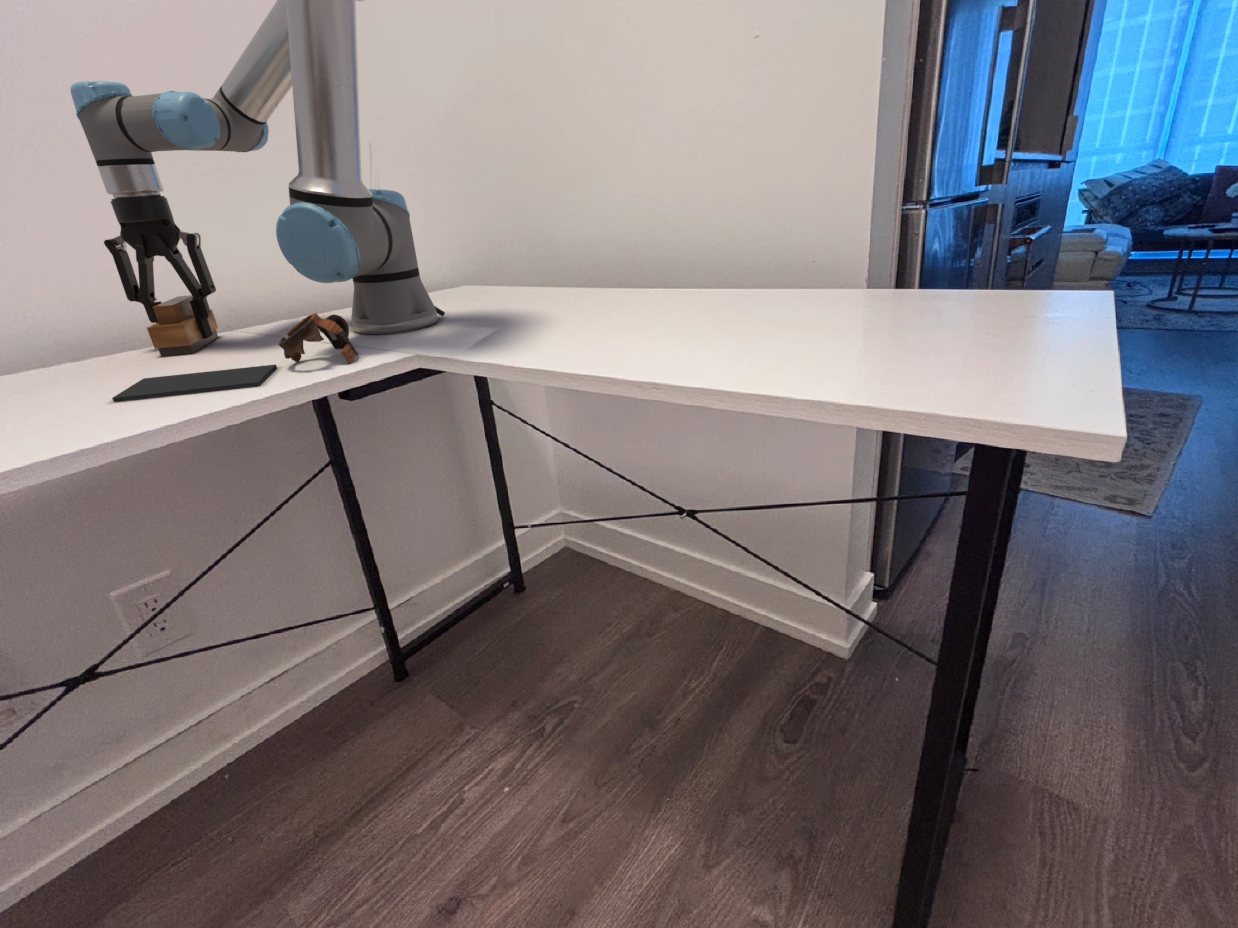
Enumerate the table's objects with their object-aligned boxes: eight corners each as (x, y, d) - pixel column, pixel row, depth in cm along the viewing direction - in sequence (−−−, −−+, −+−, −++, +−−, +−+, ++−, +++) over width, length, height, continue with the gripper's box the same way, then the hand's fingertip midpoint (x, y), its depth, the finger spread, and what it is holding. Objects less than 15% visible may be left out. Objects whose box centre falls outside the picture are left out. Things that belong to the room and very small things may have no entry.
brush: (188, 339, 115) (173, 295, 112) (221, 336, 116) (206, 292, 113) (157, 357, 104) (139, 309, 100) (193, 353, 105) (176, 305, 101)
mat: (277, 368, 93) (276, 364, 93) (259, 386, 85) (258, 381, 85) (145, 382, 90) (143, 378, 90) (113, 402, 82) (111, 397, 82)
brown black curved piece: (348, 372, 91) (304, 327, 87) (305, 398, 94) (261, 356, 90) (377, 332, 100) (338, 290, 96) (337, 357, 104) (298, 317, 99)
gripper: (209, 191, 104) (251, 328, 114) (85, 198, 101) (140, 339, 111) (191, 192, 98) (238, 338, 108) (58, 200, 94) (119, 349, 104)
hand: (188, 338), depth 109 cm, fingers closed on brush, 5 cm apart
